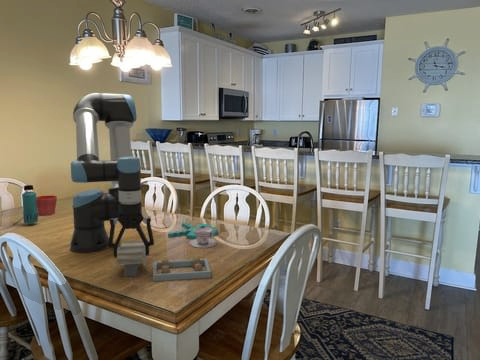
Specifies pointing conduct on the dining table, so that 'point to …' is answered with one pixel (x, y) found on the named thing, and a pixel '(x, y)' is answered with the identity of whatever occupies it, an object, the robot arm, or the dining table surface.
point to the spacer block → (131, 269)
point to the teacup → (203, 238)
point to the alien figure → (191, 231)
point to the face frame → (166, 275)
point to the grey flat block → (130, 253)
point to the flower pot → (46, 205)
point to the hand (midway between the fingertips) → (132, 264)
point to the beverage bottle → (29, 205)
